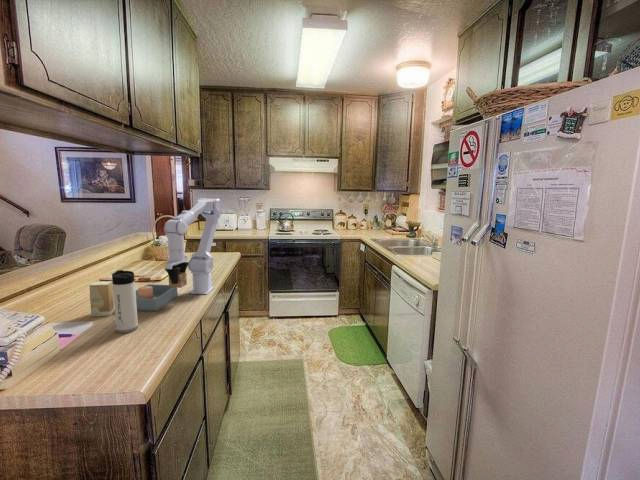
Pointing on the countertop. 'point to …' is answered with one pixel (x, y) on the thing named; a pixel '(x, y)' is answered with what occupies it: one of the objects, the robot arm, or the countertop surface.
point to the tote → (156, 298)
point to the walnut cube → (179, 281)
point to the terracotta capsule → (145, 292)
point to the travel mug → (125, 301)
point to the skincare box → (101, 298)
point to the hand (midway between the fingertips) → (178, 281)
